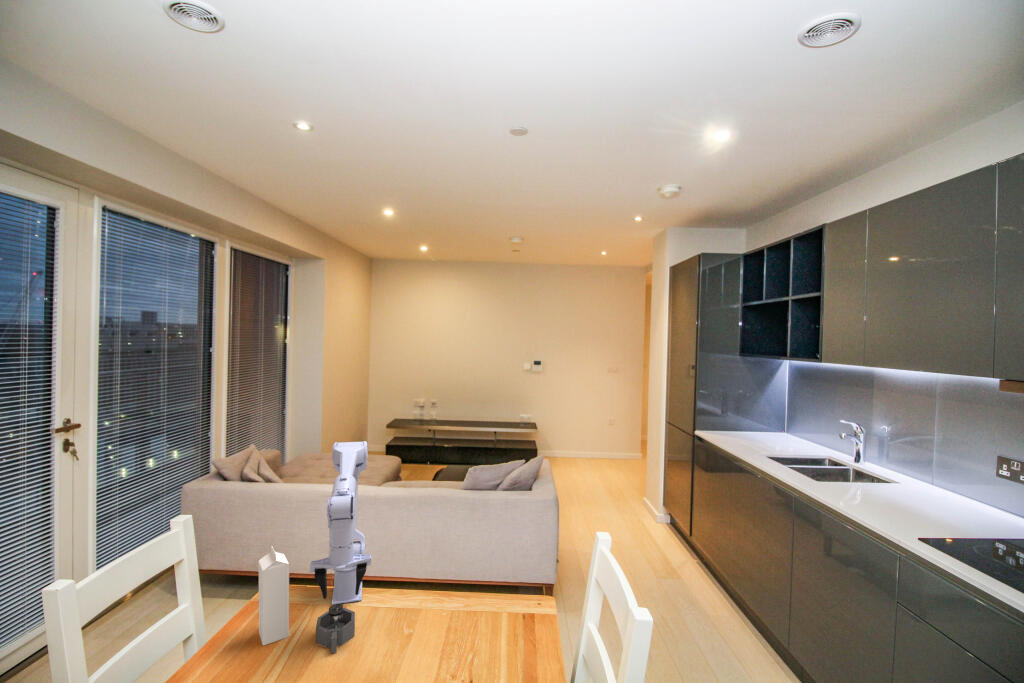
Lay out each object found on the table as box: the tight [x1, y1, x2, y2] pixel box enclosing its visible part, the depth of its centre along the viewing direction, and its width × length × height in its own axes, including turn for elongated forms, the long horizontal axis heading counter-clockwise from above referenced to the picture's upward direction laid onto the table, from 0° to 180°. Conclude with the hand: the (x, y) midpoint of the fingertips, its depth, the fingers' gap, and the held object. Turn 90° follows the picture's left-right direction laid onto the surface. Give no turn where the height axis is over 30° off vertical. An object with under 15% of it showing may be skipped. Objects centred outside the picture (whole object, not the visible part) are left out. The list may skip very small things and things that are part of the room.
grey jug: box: [315, 607, 356, 654], centre depth 118 cm, size 12×9×4 cm
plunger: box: [326, 603, 346, 630], centre depth 119 cm, size 6×6×6 cm
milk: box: [258, 545, 290, 647], centre depth 118 cm, size 6×6×22 cm
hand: (341, 594), depth 119 cm, fingers open, 7 cm apart
